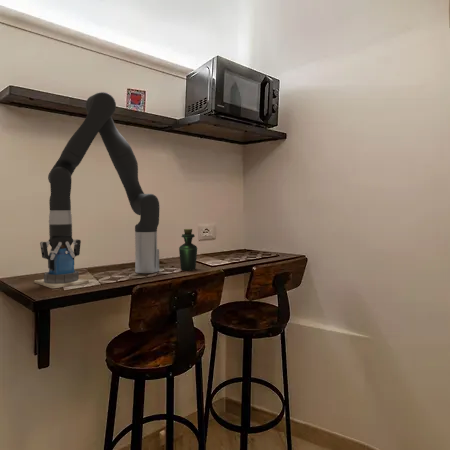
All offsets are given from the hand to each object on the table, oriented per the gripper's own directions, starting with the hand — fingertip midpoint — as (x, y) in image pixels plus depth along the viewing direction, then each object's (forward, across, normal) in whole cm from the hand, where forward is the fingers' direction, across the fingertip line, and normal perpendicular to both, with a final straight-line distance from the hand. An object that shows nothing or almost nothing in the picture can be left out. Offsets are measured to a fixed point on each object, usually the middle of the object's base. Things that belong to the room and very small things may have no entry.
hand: (61, 268), depth 129 cm
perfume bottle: (+4, 0, 0) cm, 4 cm away
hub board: (+5, 0, 0) cm, 5 cm away
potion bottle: (+5, +50, -14) cm, 52 cm away
